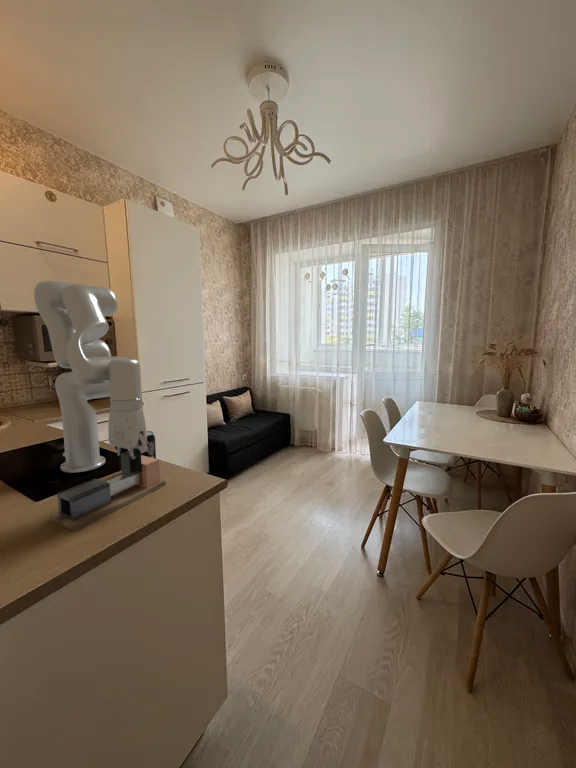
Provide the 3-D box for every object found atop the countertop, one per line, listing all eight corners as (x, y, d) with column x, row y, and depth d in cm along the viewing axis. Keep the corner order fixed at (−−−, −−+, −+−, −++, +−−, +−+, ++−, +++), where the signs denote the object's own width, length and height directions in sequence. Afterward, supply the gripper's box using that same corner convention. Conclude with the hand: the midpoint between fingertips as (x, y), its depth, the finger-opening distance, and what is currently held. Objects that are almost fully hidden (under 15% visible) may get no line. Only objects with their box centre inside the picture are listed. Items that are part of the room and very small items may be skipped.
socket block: (128, 482, 92) (126, 459, 91) (140, 476, 96) (139, 454, 95) (147, 488, 89) (146, 464, 88) (160, 481, 93) (158, 459, 92)
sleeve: (59, 515, 75) (57, 493, 74) (96, 498, 83) (95, 478, 82) (74, 521, 72) (72, 499, 72) (111, 503, 80) (109, 483, 80)
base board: (50, 519, 75) (49, 514, 75) (141, 478, 98) (141, 474, 98) (75, 531, 71) (75, 526, 71) (165, 485, 93) (165, 481, 93)
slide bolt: (87, 499, 80) (85, 465, 79) (142, 475, 94) (140, 446, 93) (97, 503, 78) (94, 468, 77) (150, 478, 92) (149, 448, 91)
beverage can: (141, 474, 100) (139, 437, 99) (130, 469, 104) (128, 433, 103) (160, 467, 106) (158, 432, 104) (149, 463, 109) (148, 429, 108)
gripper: (93, 404, 86) (98, 468, 89) (135, 411, 79) (139, 481, 81) (119, 399, 93) (123, 459, 95) (160, 405, 85) (163, 470, 88)
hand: (130, 469), depth 88 cm, fingers closed on slide bolt, 3 cm apart
